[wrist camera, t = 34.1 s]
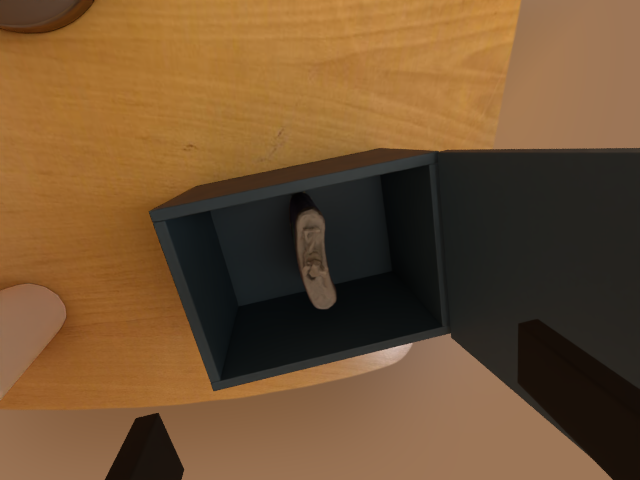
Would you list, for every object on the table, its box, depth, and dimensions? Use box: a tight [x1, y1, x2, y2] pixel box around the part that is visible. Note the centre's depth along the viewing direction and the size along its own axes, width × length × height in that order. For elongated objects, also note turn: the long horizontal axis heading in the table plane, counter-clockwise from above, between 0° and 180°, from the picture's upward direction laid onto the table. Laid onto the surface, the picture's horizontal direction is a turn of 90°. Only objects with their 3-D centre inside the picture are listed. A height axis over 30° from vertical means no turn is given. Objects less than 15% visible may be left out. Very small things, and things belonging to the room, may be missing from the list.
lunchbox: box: [149, 148, 451, 391], centre depth 30 cm, size 20×15×13 cm
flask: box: [289, 191, 337, 309], centre depth 30 cm, size 9×3×11 cm, turn 10°
